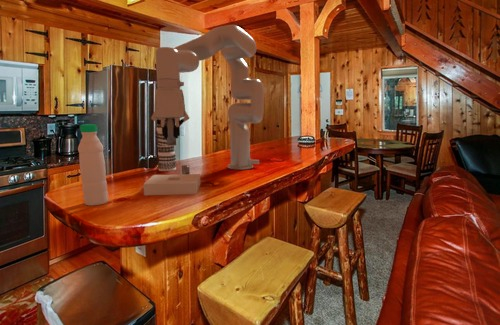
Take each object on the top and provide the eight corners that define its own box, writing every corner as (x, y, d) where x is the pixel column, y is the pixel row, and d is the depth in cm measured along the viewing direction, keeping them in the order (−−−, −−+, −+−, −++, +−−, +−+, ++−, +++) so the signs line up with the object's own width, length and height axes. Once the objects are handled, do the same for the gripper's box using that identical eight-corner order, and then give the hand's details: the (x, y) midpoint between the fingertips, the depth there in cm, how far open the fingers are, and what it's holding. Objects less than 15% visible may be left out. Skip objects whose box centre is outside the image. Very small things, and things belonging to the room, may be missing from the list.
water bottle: (83, 207, 92) (73, 125, 87) (85, 201, 98) (76, 124, 94) (108, 204, 95) (100, 124, 90) (108, 198, 101) (101, 123, 96)
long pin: (177, 144, 110) (175, 114, 108) (175, 145, 107) (173, 114, 105) (168, 144, 110) (166, 114, 108) (166, 145, 107) (164, 114, 105)
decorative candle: (180, 167, 151) (177, 117, 146) (171, 171, 142) (168, 118, 137) (163, 167, 153) (160, 117, 148) (154, 170, 144) (150, 118, 139)
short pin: (190, 177, 130) (189, 165, 129) (189, 179, 127) (188, 166, 126) (182, 177, 130) (182, 165, 129) (181, 179, 127) (181, 166, 126)
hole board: (200, 183, 119) (199, 174, 118) (196, 194, 105) (196, 182, 105) (154, 185, 118) (153, 175, 117) (144, 195, 104) (143, 184, 103)
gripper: (193, 86, 109) (195, 136, 112) (147, 86, 108) (150, 137, 111) (191, 84, 102) (193, 138, 105) (141, 84, 101) (145, 139, 104)
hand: (171, 137), depth 108 cm, fingers closed on long pin, 3 cm apart
